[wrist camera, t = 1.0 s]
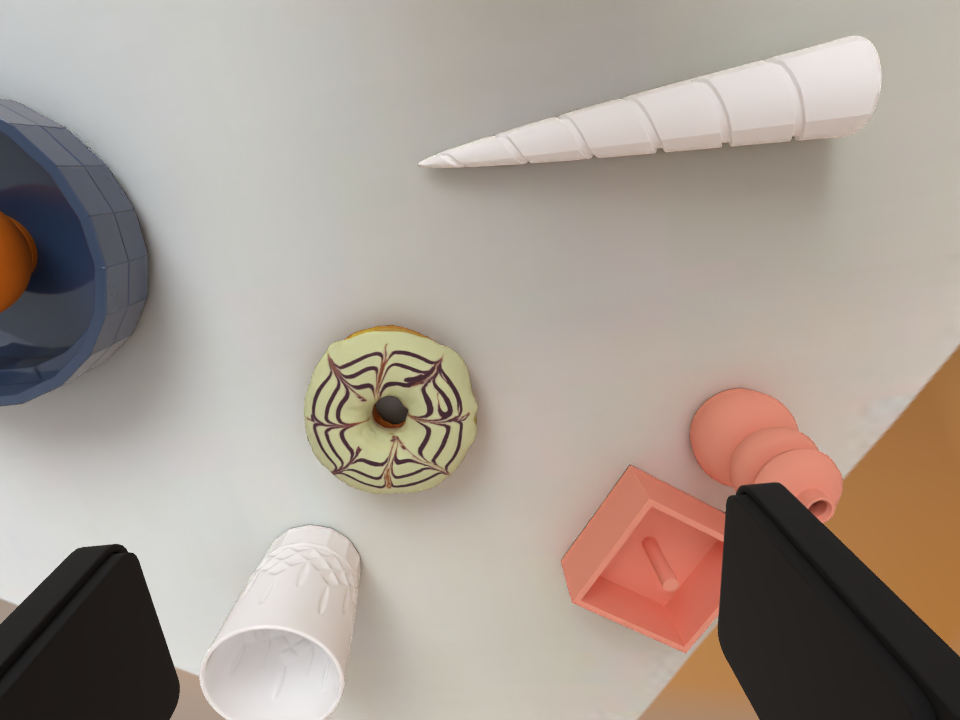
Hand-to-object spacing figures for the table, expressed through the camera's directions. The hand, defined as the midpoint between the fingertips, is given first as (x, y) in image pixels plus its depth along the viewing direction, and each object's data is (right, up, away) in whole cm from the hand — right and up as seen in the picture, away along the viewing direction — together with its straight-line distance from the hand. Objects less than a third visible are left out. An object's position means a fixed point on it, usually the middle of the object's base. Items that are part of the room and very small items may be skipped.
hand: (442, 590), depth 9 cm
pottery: (+15, -6, +31) cm, 35 cm away
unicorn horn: (+10, +17, +23) cm, 31 cm away
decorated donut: (-5, +1, +28) cm, 29 cm away
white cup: (-11, -11, +32) cm, 36 cm away
